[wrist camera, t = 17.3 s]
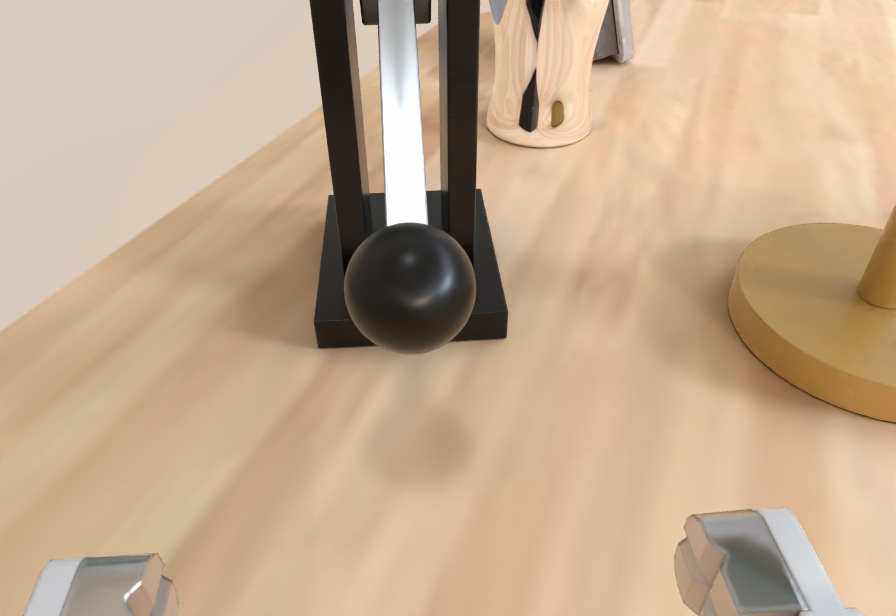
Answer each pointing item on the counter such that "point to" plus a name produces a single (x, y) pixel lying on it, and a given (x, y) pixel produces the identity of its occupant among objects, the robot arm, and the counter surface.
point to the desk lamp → (823, 311)
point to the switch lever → (406, 212)
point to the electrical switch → (616, 33)
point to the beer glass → (543, 70)
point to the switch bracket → (364, 212)
